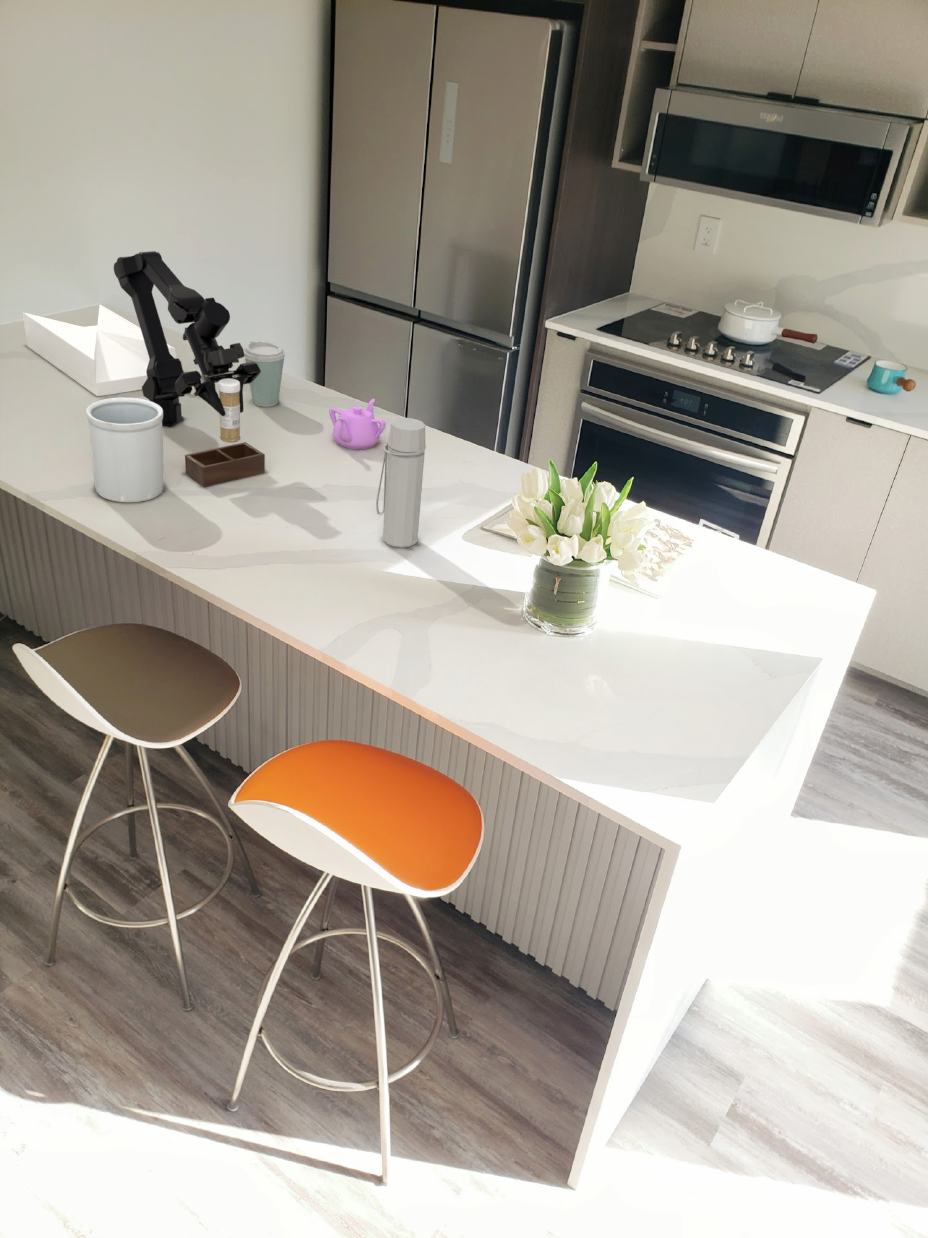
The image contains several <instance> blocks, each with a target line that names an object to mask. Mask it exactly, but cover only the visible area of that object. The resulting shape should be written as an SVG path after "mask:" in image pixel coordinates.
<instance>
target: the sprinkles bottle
mask: <svg viewBox="0 0 928 1238" xmlns="http://www.w3.org/2000/svg"><path fill="white" fill-rule="evenodd" d="M217 383H218V385H217V386H218V393H219V394H218V395H219V399H220V401H221V403H222V405H223V408H224V411H225V415H224V416H222V415H220V414H219V428H220V429H219V430H220V431H219V432H220V433H219V434H220V435H219V439H220V441H222V442H224V443H229V444H230V443H237V442H239V441H240V440H241V413H240V401H239V392H240V382H239V381H238V380H235V379H230V378H227V379H221V380H220V381H219V382H217Z"/></svg>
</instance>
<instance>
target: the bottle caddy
mask: <svg viewBox="0 0 928 1238" xmlns="http://www.w3.org/2000/svg"><path fill="white" fill-rule="evenodd" d="M184 465H185V475H186V476H188V477H189V478H190V479H192V480H194V481H195V482H196V483H198V484H199V485H201V487H204V488H207V487H211V486H214V485H218V484H223V483H224V484H225V483H227V482H231V481H236V480H241V479H244V478H245V479H246V478H249V477H254V476H257V475H262V474H264V473H266V454H265V453H263V452H262V451H260V450H259V449H257V448H255V447H254V446H252V445H251V444H249V443H248V442H246V441H244V442H240V443H239V442H238V443H235V444H230V445H225V446H221V447H215V448H211V449H206V450H202V451H198V452H191V453H187V454H184Z"/></svg>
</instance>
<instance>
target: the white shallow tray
mask: <svg viewBox="0 0 928 1238" xmlns="http://www.w3.org/2000/svg"><path fill="white" fill-rule="evenodd" d="M22 321H23V328H24V335H25V343H26V347H28V348H29V349H30V350H31V351H33V352H35V353H36V354H38V356H40V357H42V358H43V359H44V360H46V361H47V362H48V363H50V364H51V365H52V366H54V367H55V368H57V369H58V370H59V371H61V372H62V373H64V374H65V375H66V376H68V377H69V378H71V379H72V380H73V381H75V382H76V383H78V384H79V385H80V386H82V387H83V388H85V389H86V390H88V391H89V392H90V393H91V394H93V395H95V396H96V397H103V396H109V395H115V394H121V393H128V392H134V391H140V390H141V391H142V386H143V384H144V383H145V381H146V380H147V373H146V370H147V367H148V363H149V355H148V352H147V348H146V345H145V342H144V338H143V335H142V332H141V328H140V326H138V325H136V324H134V323H133V322H130V321H129V320H127V319H126V318H125V317H123V316H121V315H119V314H117V313H116V312H114V311H113V310H110V309H109V308H108V307H106V306H104V305H102V304H99V308H98V317H97V324H96V325H89V326H82V325H77V324H72V323H69V322H65V321H60V320H58V319H57V320H56V319H52V318H48V317H44V316H40V315H36V314H32V313H27V312H22ZM167 346H168V349H169V352H170V354H171V355H172V356H173V357H174V358H175V359H177V350H176V348H175V347H174V346H172V345H170V344H168V343H167Z"/></svg>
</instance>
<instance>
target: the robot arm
mask: <svg viewBox="0 0 928 1238" xmlns="http://www.w3.org/2000/svg"><path fill="white" fill-rule="evenodd" d="M113 272H114V275H115V277H116V278H117V281H118V283H119V286H120V288H121V289H122V290H123V292H125V293H126V294H127V295H128V296H129V297H130V298H131V301H132V305H133V307H134V308H133V309H134V311H135V314H136V319H137V322H138V325H139V328H141V332H142V335H143V338H144V342H145V345H146V348H147V352H148V355H149V363H148V367H147V370H146V373H147V380H146V381H145V383H144V384H143V386H142V389H141V391H142V395H143V397H145V398H146V400H148V401H151V402H154V403H156V404H158V405H159V406H160V407H161V408H162V409H163V419H162V426H164V427H173V426H175V425H176V424H178V423H179V422H181V421H182V420H183V419H184V416H183V414H182V403H181V402H180V398H181V397H185V395H190V394H191V393H192V391H193V388H194V391H195V392H194V393H193V396H194V397H199V398H200V399H201V400H203V401H204V402H206V403H207V404H208V405H209V406H211V408H212V409H214V410H215V411H216V412H217V413H218V414H219V416H220V415H222V416H224V415H225V411H224V408H223V405H222V403H221V401H220V395H219V394H218V392H217V390H216V383H219V381H220V380H221V379H227V378H230V379H235V380H238V381H239V382H240V392H239V401H240V414H242V413H244V385H248V384H249V385H250V383H252V382H253V381H254V380H255V379H256V377H257V376H258V375H259V374H260V373H261V370H260V368H259V365H258V364H257V363H255V362H249V363H246V362H243V363H240V360H239V359H243V358H245V357H244V351H243V350H244V347H243V346H242V344H241V342H237V343H232V344H230V345H229V347H228V348H224V346H223V345H219V343H218V341H217V339H216V338H219V336H220V335H221V334H222V332H223V331H224V329H225V328H226V327H227V324H229V322H230V320H231V314H230V311H229V310H228V309H227V308H226V307H225V306H224V305H223V304H222V303H220V302H217V301H216V299H215V297H206V298H204V296H203V295H202V294H200V293H199V292H198V291H197V290H196V289H193V288H190V287H187V286H186V285H184V284H183V283H182V282H181V280H180V279H179V278H178V277H177V276H176V274H175V273H174V272H173V271H172V270H171V269H170V267H169V266H168V265H167V264H166V263H165V261H164V260H163V257H162V255H161V253H160V252H159V251H155V250H152V251H151V250H150V251H139V252H138V253H135V254H133V255H131V256H119V257H118V258H117V259H116V262H114V263H113ZM154 286H155V288H156V289H157V290H158V291H159V292H160V294H161V295H162V296H163V297H164V299H165V300H166V302H167V311H168V313H169V314H170V316H171V318H172V320H173V321H174V322H175V323H176V324H178V325H182V324H189V323H190V324H189V325H188V326H187V327H184V331H183V334H182V340H183V341H188V343H189V346H190V349H191V352H192V353H193V357H194V359H193V365H195V366H198V368H199V370H200V371H198V370H192V371H184V369H183V365H182V361H181V360H180V358H177V357H176V359H175V358H174V357H173V356H172V355H171V354H170V352H169V349H168V346H167V344H168V342H167V340H166V336H165V333H164V329H163V326H162V322H161V319H160V315H159V312H158V308H157V305H156V302H155V298H154V296H153V289H154ZM238 363H240V364H239V365H238V367H237V368H236V369H235V370H230V369H232V368H233V366H234V364H238Z"/></svg>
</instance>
